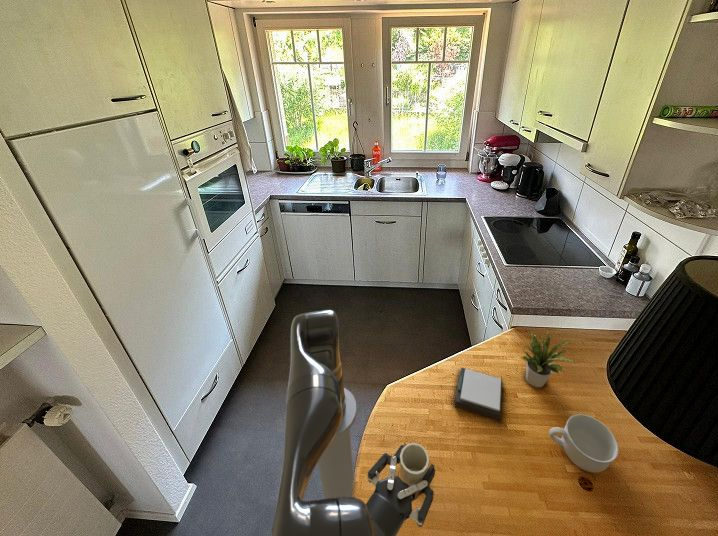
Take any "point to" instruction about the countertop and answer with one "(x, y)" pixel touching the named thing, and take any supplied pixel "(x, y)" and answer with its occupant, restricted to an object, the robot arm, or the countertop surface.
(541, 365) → the house plant
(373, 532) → the robot arm
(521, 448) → the countertop surface
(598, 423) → the teacup
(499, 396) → the scale
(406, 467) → the tumbler
